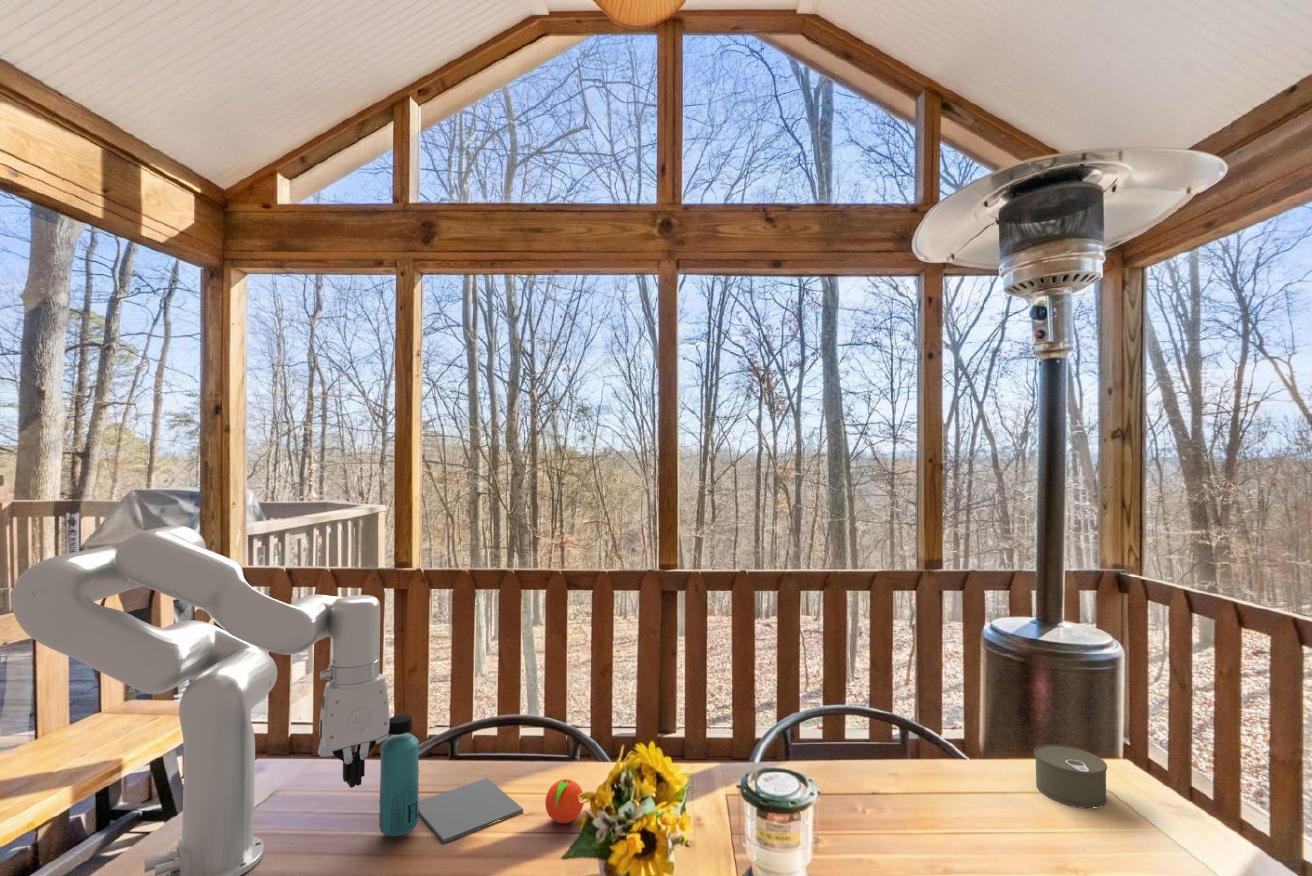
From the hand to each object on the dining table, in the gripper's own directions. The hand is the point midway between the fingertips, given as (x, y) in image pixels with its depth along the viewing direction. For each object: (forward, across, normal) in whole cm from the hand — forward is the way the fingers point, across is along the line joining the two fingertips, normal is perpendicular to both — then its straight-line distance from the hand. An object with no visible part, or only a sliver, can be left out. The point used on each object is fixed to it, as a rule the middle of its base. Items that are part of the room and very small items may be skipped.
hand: (353, 783), depth 107 cm
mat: (+11, +20, 0) cm, 23 cm away
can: (+12, +114, -70) cm, 134 cm away
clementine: (+12, +32, -15) cm, 37 cm away
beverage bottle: (+11, +8, 0) cm, 14 cm away
